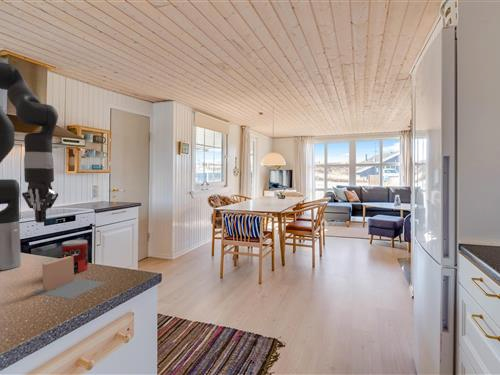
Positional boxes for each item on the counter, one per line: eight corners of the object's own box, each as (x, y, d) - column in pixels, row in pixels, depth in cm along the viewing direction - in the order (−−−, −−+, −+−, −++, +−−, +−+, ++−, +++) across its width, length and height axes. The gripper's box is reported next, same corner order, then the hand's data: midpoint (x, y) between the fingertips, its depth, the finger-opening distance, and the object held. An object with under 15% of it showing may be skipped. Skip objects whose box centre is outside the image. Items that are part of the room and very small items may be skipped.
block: (43, 290, 88) (42, 263, 88) (69, 280, 97) (69, 256, 96) (47, 291, 87) (46, 264, 87) (74, 280, 96) (73, 256, 96)
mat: (31, 294, 87) (31, 292, 87) (70, 279, 99) (70, 277, 99) (70, 300, 82) (70, 298, 82) (106, 284, 95) (106, 282, 95)
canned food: (57, 274, 104) (56, 243, 104) (77, 267, 112) (76, 238, 111) (73, 276, 102) (73, 245, 101) (92, 269, 109) (92, 240, 109)
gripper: (11, 167, 91) (13, 223, 92) (43, 166, 87) (44, 225, 88) (35, 167, 98) (37, 219, 99) (66, 167, 94) (67, 221, 95)
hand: (40, 222), depth 93 cm, fingers closed
